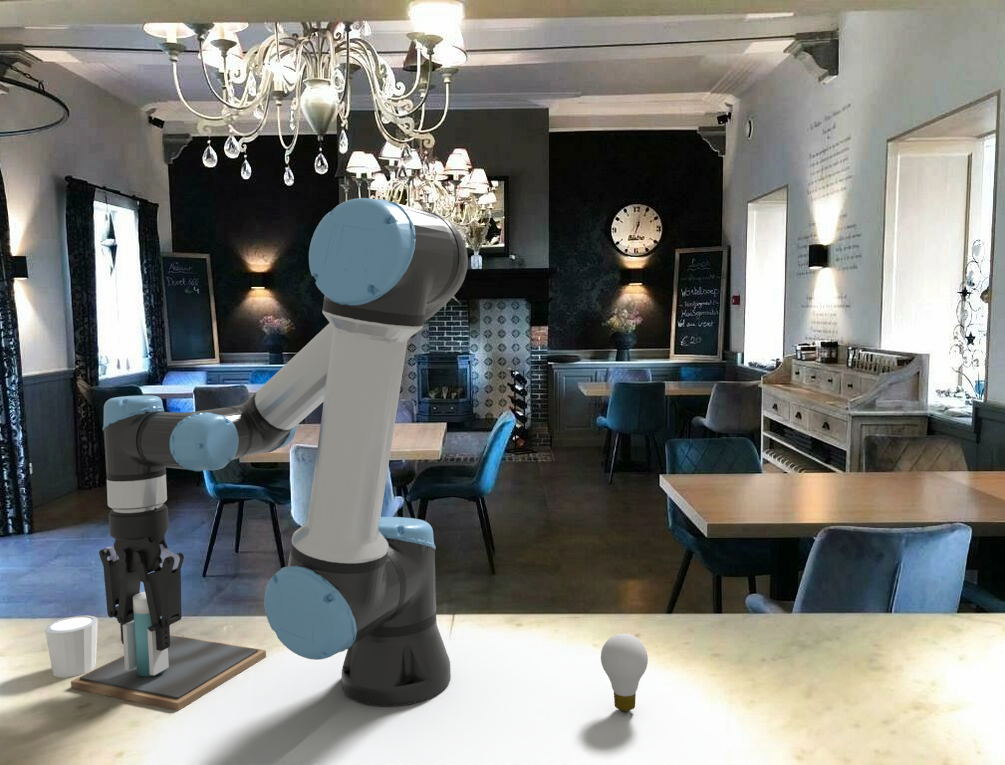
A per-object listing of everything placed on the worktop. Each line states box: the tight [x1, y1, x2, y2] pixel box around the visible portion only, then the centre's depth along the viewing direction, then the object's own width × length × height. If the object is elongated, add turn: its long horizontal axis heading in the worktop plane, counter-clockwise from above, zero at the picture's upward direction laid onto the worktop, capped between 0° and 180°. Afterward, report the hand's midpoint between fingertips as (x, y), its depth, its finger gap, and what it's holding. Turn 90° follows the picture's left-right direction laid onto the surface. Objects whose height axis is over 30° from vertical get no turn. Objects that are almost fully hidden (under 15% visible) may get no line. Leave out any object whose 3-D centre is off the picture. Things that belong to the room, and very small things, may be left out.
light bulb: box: [600, 632, 649, 714], centre depth 98 cm, size 6×6×10 cm
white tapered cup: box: [44, 615, 98, 678], centre depth 115 cm, size 7×7×7 cm
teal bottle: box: [133, 591, 167, 676], centre depth 110 cm, size 4×4×11 cm
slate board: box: [70, 634, 267, 711], centre depth 113 cm, size 20×18×1 cm
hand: (146, 668), depth 110 cm, fingers closed on teal bottle, 4 cm apart
